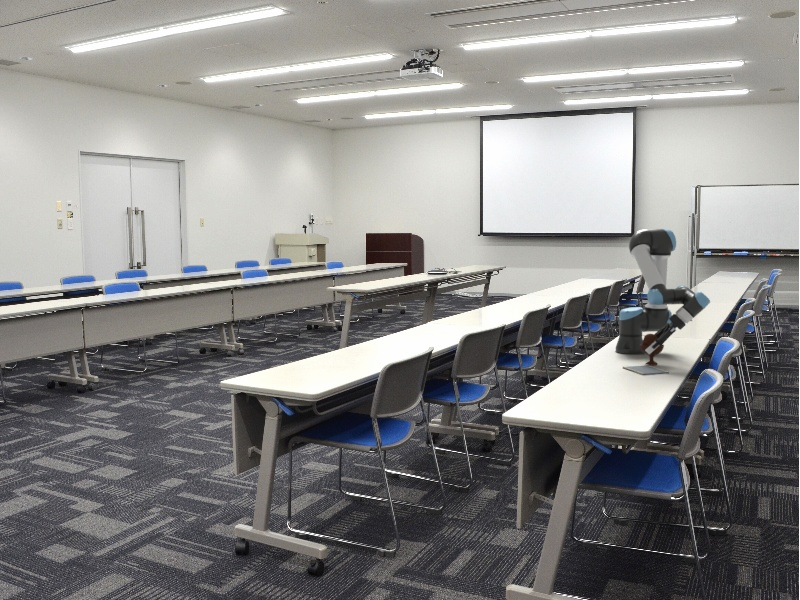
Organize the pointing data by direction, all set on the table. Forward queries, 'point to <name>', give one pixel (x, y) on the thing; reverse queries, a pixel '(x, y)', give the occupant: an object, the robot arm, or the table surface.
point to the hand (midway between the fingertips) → (645, 350)
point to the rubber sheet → (645, 369)
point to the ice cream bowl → (647, 342)
